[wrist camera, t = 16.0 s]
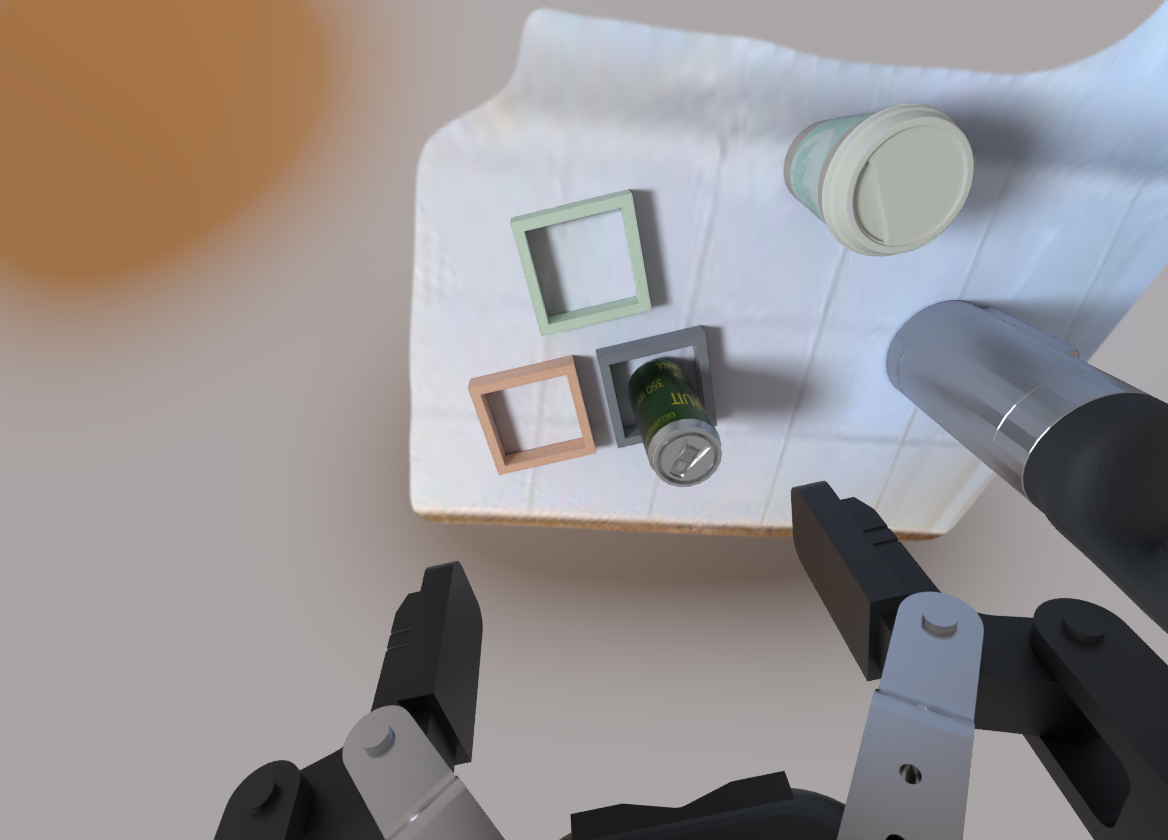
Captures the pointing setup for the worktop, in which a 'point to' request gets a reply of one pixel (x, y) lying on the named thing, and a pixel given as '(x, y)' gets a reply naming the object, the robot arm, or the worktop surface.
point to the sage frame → (569, 213)
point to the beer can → (673, 424)
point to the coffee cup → (883, 177)
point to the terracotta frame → (522, 377)
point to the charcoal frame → (651, 347)
